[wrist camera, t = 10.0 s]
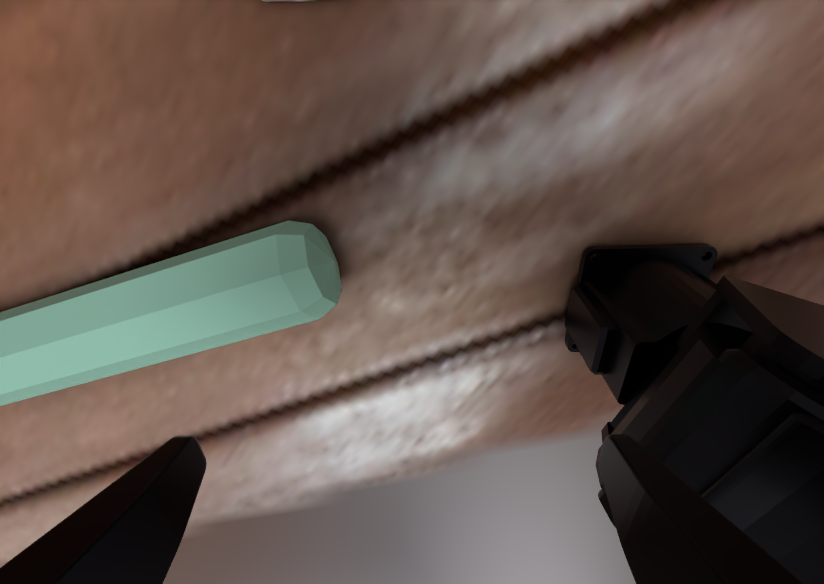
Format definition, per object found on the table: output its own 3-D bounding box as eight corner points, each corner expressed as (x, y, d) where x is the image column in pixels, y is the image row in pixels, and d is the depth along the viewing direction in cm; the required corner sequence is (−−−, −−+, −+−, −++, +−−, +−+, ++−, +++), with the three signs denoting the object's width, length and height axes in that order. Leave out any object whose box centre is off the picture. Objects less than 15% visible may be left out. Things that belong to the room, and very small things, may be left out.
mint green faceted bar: (298, 267, 14) (-182, 409, 18) (359, 343, 19) (-36, 445, 23) (308, 175, 18) (-92, 309, 22) (357, 257, 23) (18, 357, 26)
